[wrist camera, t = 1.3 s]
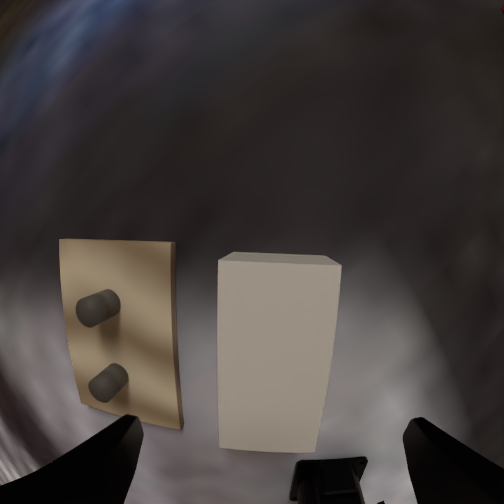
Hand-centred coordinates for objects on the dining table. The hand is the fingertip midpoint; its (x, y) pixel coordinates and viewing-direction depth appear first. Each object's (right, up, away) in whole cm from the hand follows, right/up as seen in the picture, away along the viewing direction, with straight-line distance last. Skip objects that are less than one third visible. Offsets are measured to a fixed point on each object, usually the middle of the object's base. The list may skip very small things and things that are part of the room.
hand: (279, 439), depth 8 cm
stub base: (-11, -1, +13) cm, 17 cm away
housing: (+1, 0, +12) cm, 12 cm away
